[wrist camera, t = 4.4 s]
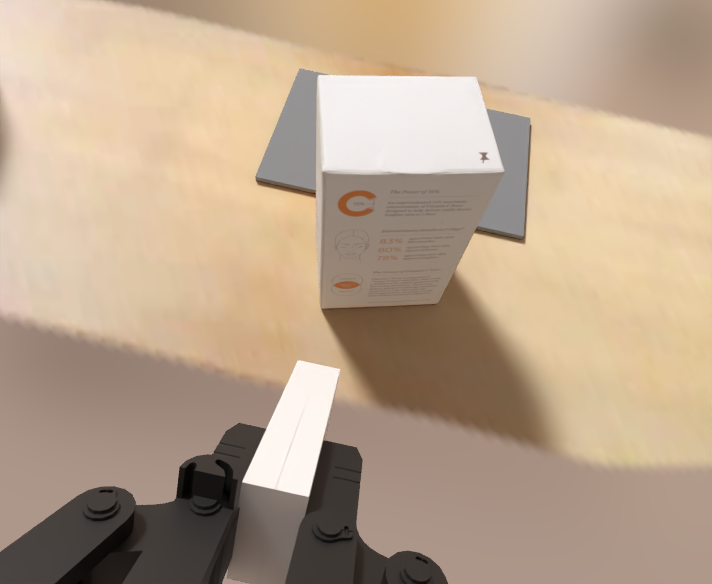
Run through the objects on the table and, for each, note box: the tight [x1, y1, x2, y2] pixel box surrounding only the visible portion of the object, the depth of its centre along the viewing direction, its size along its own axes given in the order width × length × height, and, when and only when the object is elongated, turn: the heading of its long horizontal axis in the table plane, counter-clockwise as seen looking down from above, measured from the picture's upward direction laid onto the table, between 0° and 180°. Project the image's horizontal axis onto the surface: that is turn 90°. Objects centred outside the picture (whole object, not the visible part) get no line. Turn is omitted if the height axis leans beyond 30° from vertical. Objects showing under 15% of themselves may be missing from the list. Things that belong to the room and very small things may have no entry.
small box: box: [316, 75, 505, 309], centre depth 28 cm, size 8×6×13 cm
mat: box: [256, 69, 530, 239], centre depth 39 cm, size 20×12×1 cm, turn 78°
